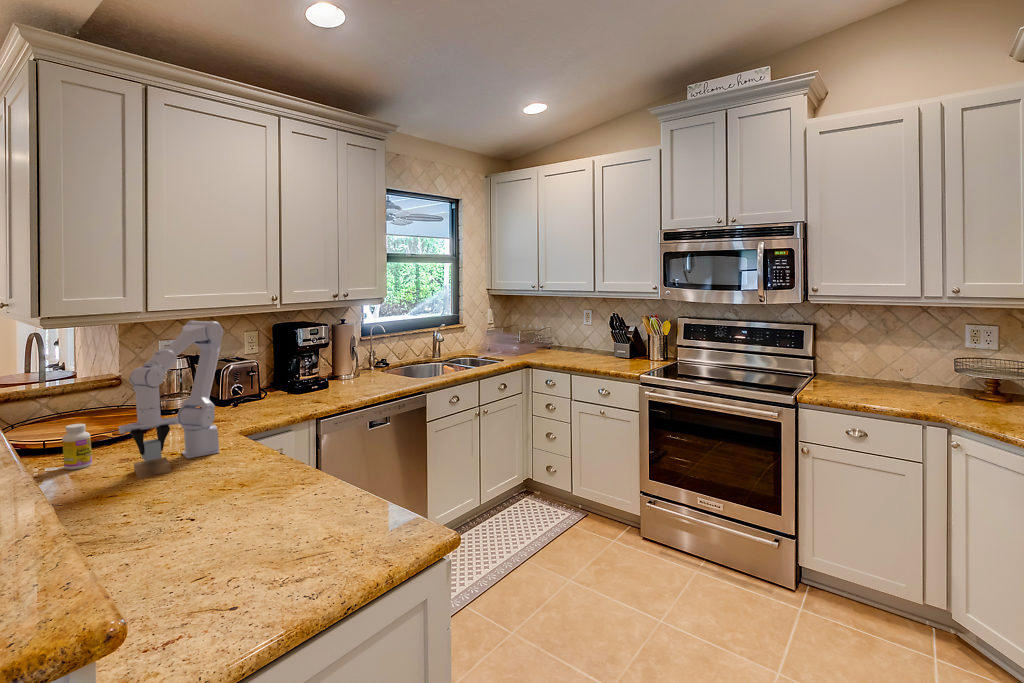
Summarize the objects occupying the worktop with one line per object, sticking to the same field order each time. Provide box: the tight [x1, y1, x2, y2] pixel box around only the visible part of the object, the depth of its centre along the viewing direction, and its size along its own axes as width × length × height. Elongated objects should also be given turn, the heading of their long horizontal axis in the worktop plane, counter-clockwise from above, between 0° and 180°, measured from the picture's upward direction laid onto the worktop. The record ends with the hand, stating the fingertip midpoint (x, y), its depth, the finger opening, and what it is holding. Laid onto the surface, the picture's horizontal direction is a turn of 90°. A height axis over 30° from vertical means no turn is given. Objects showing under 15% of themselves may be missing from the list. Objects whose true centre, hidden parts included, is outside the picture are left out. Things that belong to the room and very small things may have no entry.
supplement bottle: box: [61, 423, 93, 471], centre depth 159 cm, size 7×7×13 cm
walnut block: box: [133, 456, 172, 480], centre depth 156 cm, size 8×8×3 cm
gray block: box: [141, 438, 163, 461], centre depth 155 cm, size 4×4×5 cm
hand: (151, 452), depth 156 cm, fingers closed on gray block, 4 cm apart
